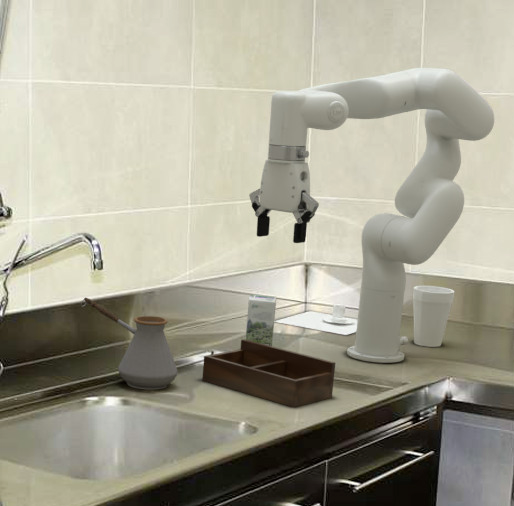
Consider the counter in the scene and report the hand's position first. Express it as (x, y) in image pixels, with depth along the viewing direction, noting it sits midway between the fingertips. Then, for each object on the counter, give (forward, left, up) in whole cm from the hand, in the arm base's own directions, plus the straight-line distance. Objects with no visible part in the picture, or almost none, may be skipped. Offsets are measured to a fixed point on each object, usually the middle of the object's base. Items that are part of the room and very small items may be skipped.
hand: (280, 239), depth 250 cm
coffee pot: (+35, -8, -27) cm, 45 cm away
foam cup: (-50, +7, -27) cm, 58 cm away
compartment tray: (+16, +12, -27) cm, 33 cm away
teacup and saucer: (-48, -21, -27) cm, 59 cm away
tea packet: (+2, -2, -27) cm, 27 cm away
